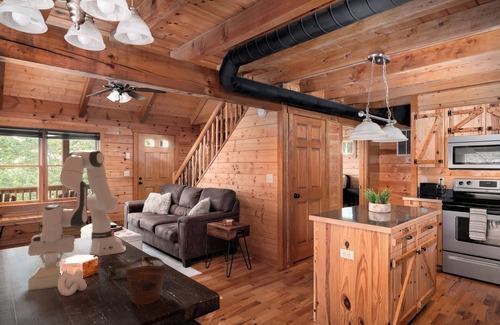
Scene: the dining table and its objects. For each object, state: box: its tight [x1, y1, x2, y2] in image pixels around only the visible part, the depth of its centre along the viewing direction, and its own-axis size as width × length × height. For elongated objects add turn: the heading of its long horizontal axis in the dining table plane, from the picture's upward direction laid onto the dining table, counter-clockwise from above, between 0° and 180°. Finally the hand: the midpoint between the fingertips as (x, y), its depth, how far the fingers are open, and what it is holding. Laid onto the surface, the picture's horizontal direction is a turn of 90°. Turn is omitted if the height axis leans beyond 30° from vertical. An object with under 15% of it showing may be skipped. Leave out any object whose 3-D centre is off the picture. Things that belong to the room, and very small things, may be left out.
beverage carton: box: [107, 261, 134, 281], centre depth 162 cm, size 8×19×7 cm, turn 114°
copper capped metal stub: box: [44, 252, 60, 269], centre depth 156 cm, size 5×5×9 cm
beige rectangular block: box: [36, 268, 60, 279], centre depth 148 cm, size 9×6×7 cm, turn 112°
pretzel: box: [57, 269, 88, 297], centre depth 141 cm, size 11×12×9 cm
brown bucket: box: [125, 255, 168, 306], centre depth 136 cm, size 18×20×18 cm
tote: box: [27, 264, 67, 291], centre depth 152 cm, size 14×18×5 cm
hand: (51, 262), depth 156 cm, fingers closed on copper capped metal stub, 5 cm apart
